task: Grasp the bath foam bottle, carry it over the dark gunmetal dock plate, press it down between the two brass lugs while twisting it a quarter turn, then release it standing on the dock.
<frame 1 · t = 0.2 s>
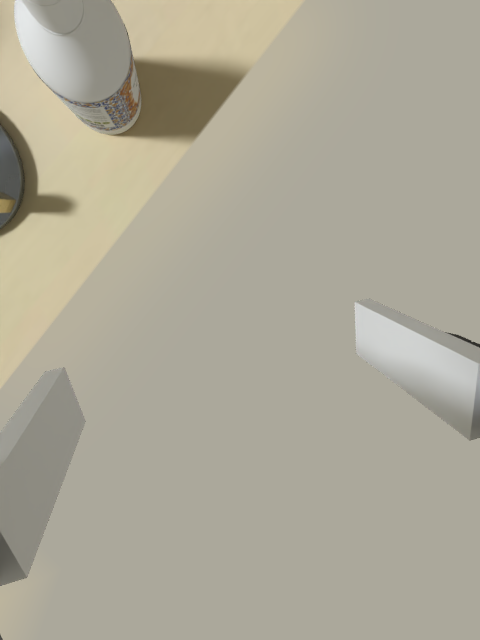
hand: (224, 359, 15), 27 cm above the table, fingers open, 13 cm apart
bath foam: (106, 97, 33), on the table
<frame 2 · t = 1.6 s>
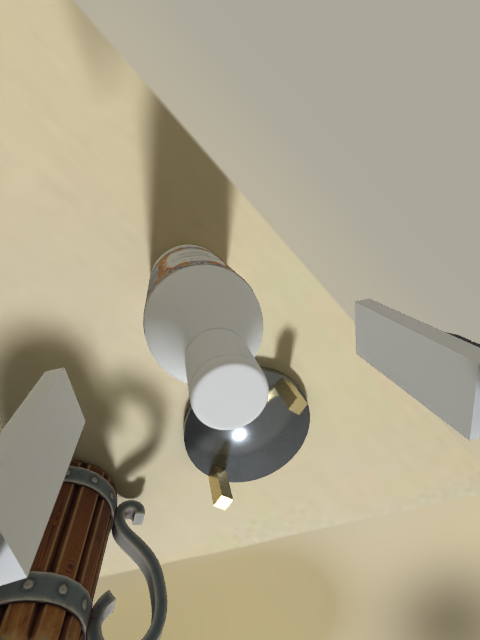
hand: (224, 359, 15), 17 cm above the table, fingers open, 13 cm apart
mug: (91, 496, 36), on the table
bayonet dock: (246, 423, 37), on the table
bath foam: (188, 281, 30), on the table
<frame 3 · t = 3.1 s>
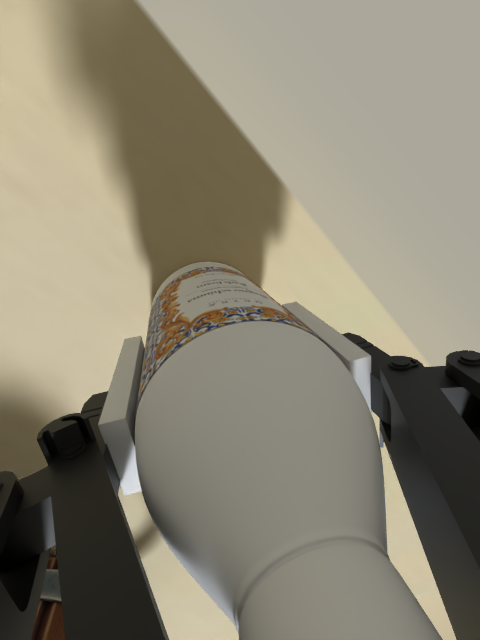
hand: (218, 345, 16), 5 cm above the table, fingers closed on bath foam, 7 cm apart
mug: (72, 596, 26), on the table
bath foam: (206, 313, 21), on the table, touching gripper
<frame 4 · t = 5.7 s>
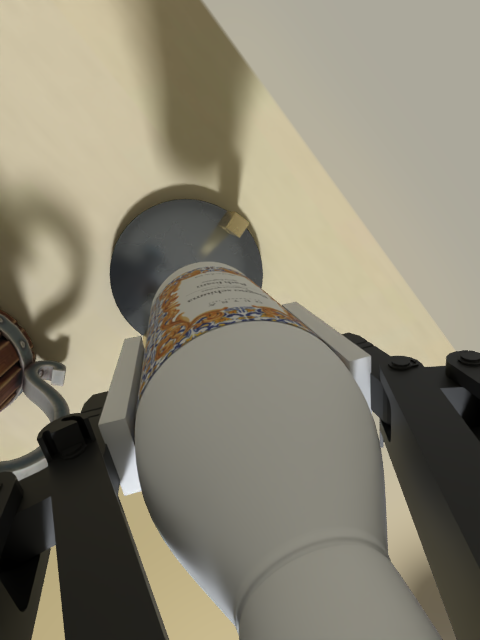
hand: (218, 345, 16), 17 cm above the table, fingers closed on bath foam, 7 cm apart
mug: (6, 356, 30), on the table
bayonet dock: (189, 277, 32), on the table
bath foam: (206, 313, 21), point 11 cm above the table, touching gripper
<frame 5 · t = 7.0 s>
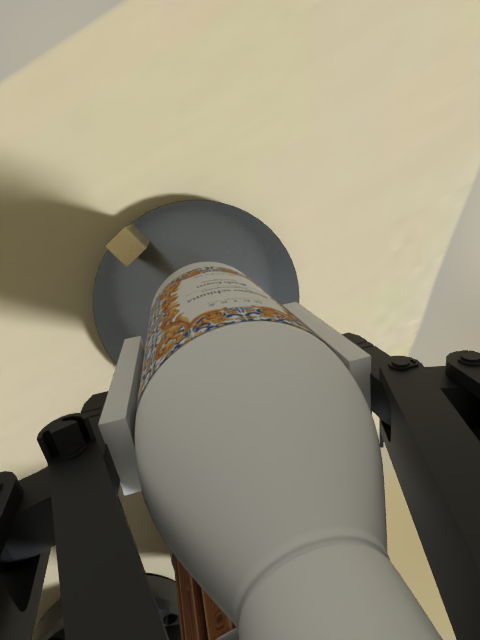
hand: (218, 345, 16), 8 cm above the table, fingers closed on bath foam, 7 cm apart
mug: (239, 492, 30), on the table
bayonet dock: (201, 304, 24), on the table
bath foam: (206, 313, 21), point 3 cm above the table, touching gripper
when the fingers open (7 cm above the table, at t = 8.1 s): bath foam stays where it is, resting on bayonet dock.
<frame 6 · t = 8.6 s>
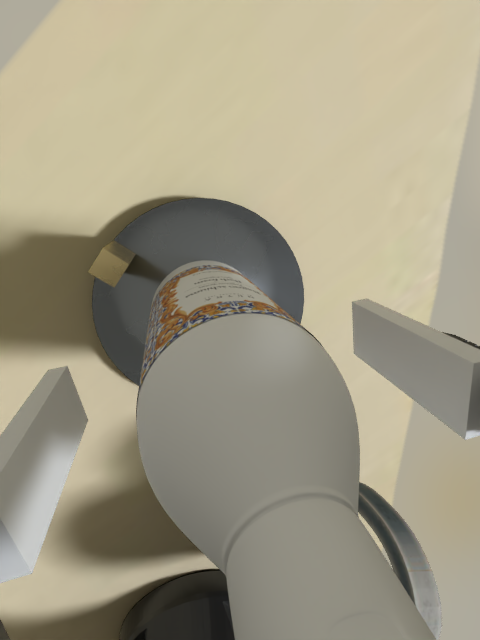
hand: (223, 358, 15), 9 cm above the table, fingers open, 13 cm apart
mug: (283, 479, 30), on the table
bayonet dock: (203, 305, 23), on the table
bath foam: (204, 310, 22), point 1 cm above the table, touching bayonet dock
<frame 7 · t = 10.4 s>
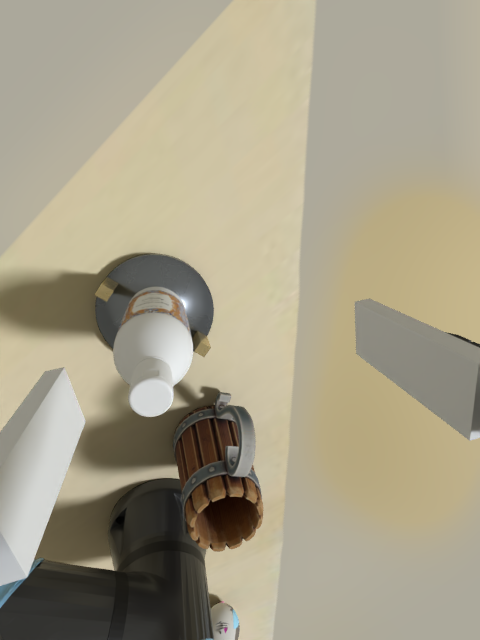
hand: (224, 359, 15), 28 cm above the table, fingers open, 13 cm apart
mug: (213, 419, 48), on the table
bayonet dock: (157, 310, 41), on the table
bath foam: (156, 312, 40), point 1 cm above the table, touching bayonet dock
figurine: (218, 602, 60), on the table
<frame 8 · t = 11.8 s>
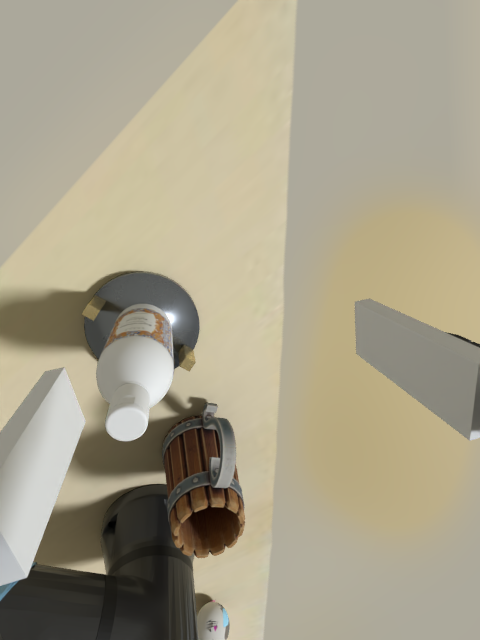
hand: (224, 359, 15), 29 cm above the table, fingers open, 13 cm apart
mug: (201, 427, 50), on the table
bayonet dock: (144, 325, 43), on the table
bath foam: (144, 328, 42), point 1 cm above the table, touching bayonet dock
figurine: (209, 601, 63), on the table
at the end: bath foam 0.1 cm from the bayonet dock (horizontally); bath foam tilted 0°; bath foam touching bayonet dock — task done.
